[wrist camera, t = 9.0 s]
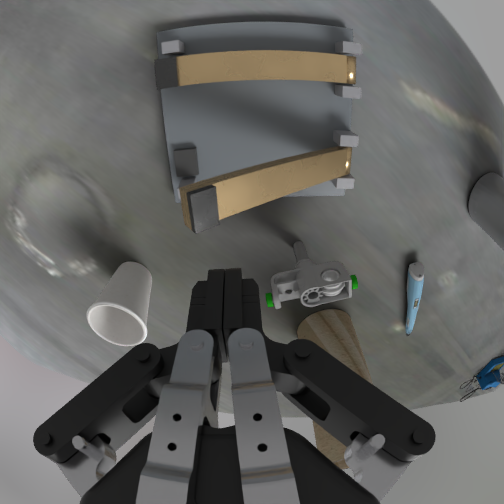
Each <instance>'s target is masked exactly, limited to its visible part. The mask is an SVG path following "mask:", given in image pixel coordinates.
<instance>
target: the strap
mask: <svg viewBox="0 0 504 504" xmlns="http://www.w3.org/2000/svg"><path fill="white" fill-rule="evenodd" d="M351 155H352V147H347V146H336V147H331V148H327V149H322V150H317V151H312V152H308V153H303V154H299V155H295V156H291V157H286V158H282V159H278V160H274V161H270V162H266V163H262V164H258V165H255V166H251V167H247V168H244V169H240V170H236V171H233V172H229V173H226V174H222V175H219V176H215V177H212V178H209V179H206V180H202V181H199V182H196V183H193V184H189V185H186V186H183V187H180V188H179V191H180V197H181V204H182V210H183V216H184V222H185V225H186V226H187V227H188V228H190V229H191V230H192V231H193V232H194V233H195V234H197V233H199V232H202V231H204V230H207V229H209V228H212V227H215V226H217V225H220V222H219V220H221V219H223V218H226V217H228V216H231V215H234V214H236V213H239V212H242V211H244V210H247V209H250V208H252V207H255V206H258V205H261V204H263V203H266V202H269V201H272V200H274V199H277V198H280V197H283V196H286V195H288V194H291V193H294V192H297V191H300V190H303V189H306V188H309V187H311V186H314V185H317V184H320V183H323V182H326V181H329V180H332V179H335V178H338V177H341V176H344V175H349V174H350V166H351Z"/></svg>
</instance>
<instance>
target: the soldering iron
mask: <svg viewBox="0 0 504 504" xmlns="http://www.w3.org/2000/svg"><path fill="white" fill-rule="evenodd" d="M503 366H504V356H503V357H500V358H497V359H494V360H491V361H490V362H489V363H488V364H487V366H486V367H485V368H484V369H483V370H482V371H481V372H480V373H479V374H478V375H477V376H474V377H476V378H477V380H478V382H479V384H478V385H479V386H481V388H477V389H482V390H487V389H489V388H491V387H496V386H497V385H498V384H499V383H501V384H504V377H503V376H504V374H503V373H501V374H502V375H503V376H502V377H503V379H502V377H501V376H500V372H499V370H500V369H501V368H502V367H503ZM474 377H473V380H474ZM500 377H501V379H502V380H503V383H502V382H501V379H500ZM473 380H472V381H470V380H469V381H470V382H473ZM477 380H476V381H474V383H475V382H477ZM467 382H468V381H467ZM470 382H469V383H470ZM465 383H466V382H465ZM469 383H468V384H469ZM463 384H464V383H463ZM463 384H462V385H463ZM468 384H467V385H468ZM462 385H461V386H462ZM467 385H466V386H467ZM470 385H471V384H470ZM461 386H460V389H461ZM466 386H465V387H466ZM465 387H464V388H465ZM468 388H469V387H468ZM473 388H474V387H473ZM462 389H463V388H462ZM477 389H476V390H477ZM470 390H471V389H470ZM476 390H474V391H476ZM468 391H469V390H468ZM474 391H472V392H474ZM466 392H467V390H466ZM472 392H470V393H472ZM470 393H469V394H470ZM469 394H467V395H469ZM473 394H474V393H473ZM467 395H466V396H467ZM470 396H471V395H470ZM470 396H469V397H470ZM464 397H465V396H464ZM464 397H463V398H464ZM469 397H468V398H469ZM463 398H462V399H463ZM466 399H467V398H466ZM466 399H465V400H466ZM460 402H462V401H461V400H460Z"/></svg>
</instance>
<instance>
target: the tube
mask: <svg viewBox="0 0 504 504" xmlns="http://www.w3.org/2000/svg"><path fill="white" fill-rule="evenodd" d="M297 335H298V339H307V340H310V341H313V342H314V343H316V344H317V345H318V346H320V347H321V348H322V349H324V350H325V351H326V352H328V353H329V354H331V355H332V356H333V357H335V358H336V359H337V360H339V361H340V362H342V363H343V364H344V365H346V366H347V367H348V368H350V369H351V370H353V371H354V372H355V373H357V374H358V375H360V376H361V377H362V378H364V379H365V380H367V381H368V382H370V383H371V384H372V385H373V383H372V380H371V377H370V374H369V371H368V368H367V364H366V361H365V358H364V355H363V352H362V350H361V347H360V344H359V341H358V338H357V335H356V332H355V329H354V327H353V324H352V321H351V318H350V316H349V315H348V314H347V313H346V312H344V311H342V310H337V309H327V310H322V311H318V312H316V313H314V314H311V315H310V316H308V317H307V318H305V319H304V320H303V321H302V322H301V324H300V325H299V327H298V330H297ZM313 426H314V432H315V438H316V445H317V449H318V450H319V451H320V452H321V453H323V454H324V455H325V456H326V457H327V458H328V459H330V460H331V461H332V462H333V463H334V464H335V465H337V466H338V467H339V468H340V469H341V470H342V469H347V468H349V466H348V465H347V464H346V462H345V459H344V453H345V450H346V448H347V447H346V446H345V445H344V444H342V443H341V442H340V441H338V440H337V439H336V438H334V437H333V436H332V435H331V434H329V433H328V432H327V431H326V430H324V429H323V428H322V427H321V426H319V425H318V424H317V423H316V422H314V421H313Z"/></svg>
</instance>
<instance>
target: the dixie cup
mask: <svg viewBox="0 0 504 504" xmlns="http://www.w3.org/2000/svg"><path fill="white" fill-rule="evenodd" d="M151 285H152V276H151V274H150V272H149V270H148V269H147V268H146V267H145V266H143V265H141V264H139V263H137V262H125V263H122V264H121V265H120V266H119V267H118V269H117V270H116V272H115V273H114V274H113V276H112V277H111V279H110V280H109V282H108V283H107V285H106V286H105V287H104V289H103V290H102V292H101V293H100V295H99V296H98V298H97V299H96V301H95V302H94V304H93V305H91V306H90V307H89V309H88V311H87V320H88V323H89V325H90V326H91V328H92V329H93V330H94V331H95V332H96V333H97V334H98V335H99V336H100V337H102V338H103V339H105V340H107V341H109V342H111V343H114V344H117V345H122V346H133V345H137V344H140V343H141V342H143V341H144V340H145V338H146V336H147V328H146V323H147V315H148V306H149V299H150V291H151Z"/></svg>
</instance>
